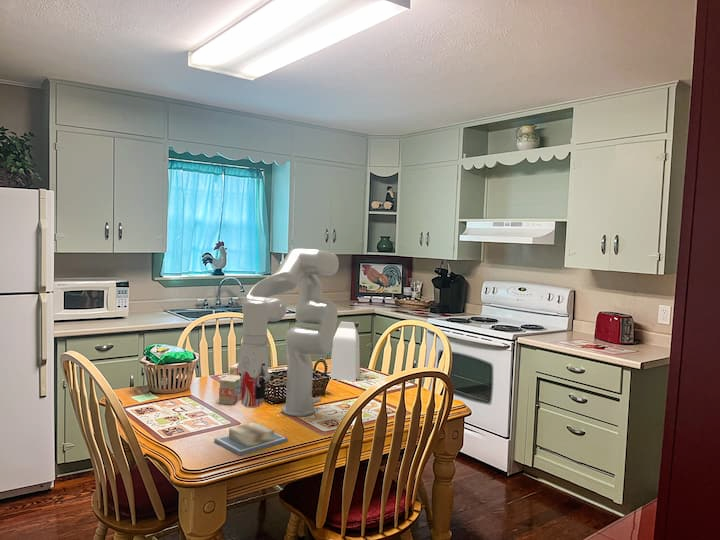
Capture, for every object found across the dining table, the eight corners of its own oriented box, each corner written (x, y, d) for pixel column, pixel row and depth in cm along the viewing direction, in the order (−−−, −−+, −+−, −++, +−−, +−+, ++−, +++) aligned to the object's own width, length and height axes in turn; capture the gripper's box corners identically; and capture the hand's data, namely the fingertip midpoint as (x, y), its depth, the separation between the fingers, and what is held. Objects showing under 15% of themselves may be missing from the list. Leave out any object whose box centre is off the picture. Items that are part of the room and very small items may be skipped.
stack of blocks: (233, 405, 213) (234, 373, 212) (218, 403, 214) (219, 372, 214) (255, 390, 234) (256, 361, 233) (240, 389, 235) (241, 360, 234)
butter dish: (261, 429, 189) (261, 417, 189) (287, 441, 179) (288, 429, 179) (214, 441, 176) (214, 429, 176) (239, 455, 166) (240, 442, 166)
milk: (329, 379, 256) (331, 323, 254) (334, 373, 267) (337, 319, 266) (355, 381, 254) (357, 325, 252) (359, 375, 265) (362, 321, 264)
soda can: (242, 401, 180) (243, 364, 179) (264, 402, 180) (265, 365, 180) (239, 408, 173) (240, 370, 172) (262, 409, 173) (264, 370, 173)
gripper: (228, 336, 179) (226, 391, 180) (261, 345, 167) (259, 404, 168) (248, 334, 184) (246, 387, 185) (281, 343, 172) (279, 400, 173)
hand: (252, 395), depth 176 cm, fingers closed on soda can, 7 cm apart
